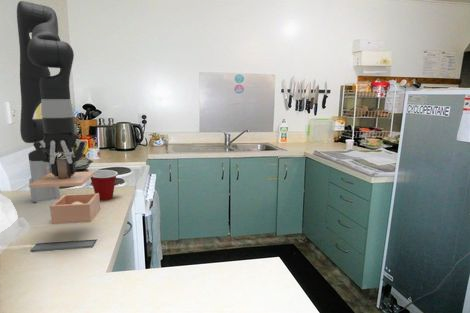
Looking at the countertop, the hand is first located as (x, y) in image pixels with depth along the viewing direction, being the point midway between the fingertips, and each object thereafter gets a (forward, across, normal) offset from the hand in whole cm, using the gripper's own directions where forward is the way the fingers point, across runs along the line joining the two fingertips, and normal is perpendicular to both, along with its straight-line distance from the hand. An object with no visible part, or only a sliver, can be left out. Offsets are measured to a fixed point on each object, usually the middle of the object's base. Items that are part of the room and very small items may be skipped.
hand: (64, 175), depth 87 cm
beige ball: (+19, +3, -16) cm, 25 cm away
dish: (+20, +3, -16) cm, 25 cm away
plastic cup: (+20, -2, -34) cm, 39 cm away
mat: (+20, 0, 0) cm, 20 cm away
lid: (+1, 0, 0) cm, 1 cm away
